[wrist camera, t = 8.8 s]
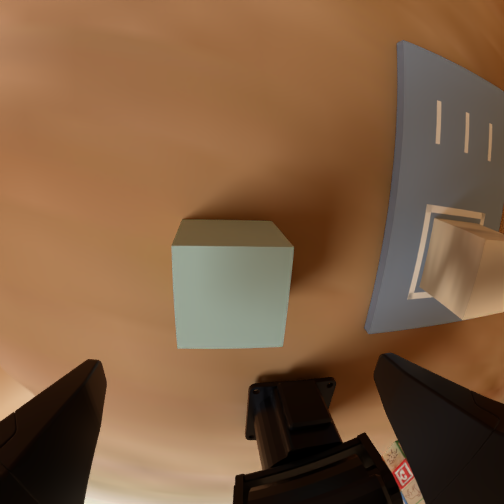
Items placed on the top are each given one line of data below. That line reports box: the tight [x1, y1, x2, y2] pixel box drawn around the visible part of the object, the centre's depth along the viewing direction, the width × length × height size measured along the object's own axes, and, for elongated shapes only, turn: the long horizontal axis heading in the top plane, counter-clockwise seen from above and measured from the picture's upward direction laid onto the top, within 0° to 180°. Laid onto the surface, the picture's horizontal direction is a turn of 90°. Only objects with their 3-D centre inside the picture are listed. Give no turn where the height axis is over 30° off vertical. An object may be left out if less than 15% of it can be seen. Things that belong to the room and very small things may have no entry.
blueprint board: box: [364, 40, 504, 334], centre depth 18 cm, size 20×12×1 cm, turn 176°
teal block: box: [172, 219, 294, 349], centre depth 16 cm, size 5×5×5 cm
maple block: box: [419, 218, 504, 320], centre depth 17 cm, size 5×5×5 cm
